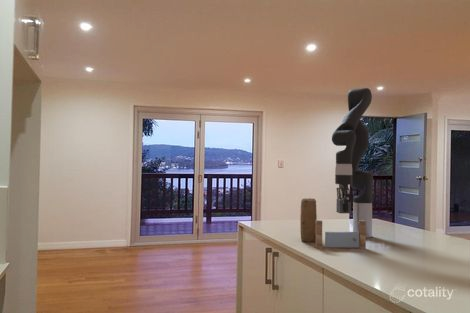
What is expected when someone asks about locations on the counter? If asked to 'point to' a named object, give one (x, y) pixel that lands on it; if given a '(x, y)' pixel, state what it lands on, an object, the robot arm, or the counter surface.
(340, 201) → the gray rectangular block
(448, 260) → the counter surface
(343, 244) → the door
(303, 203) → the brown bread loaf
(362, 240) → the frame
